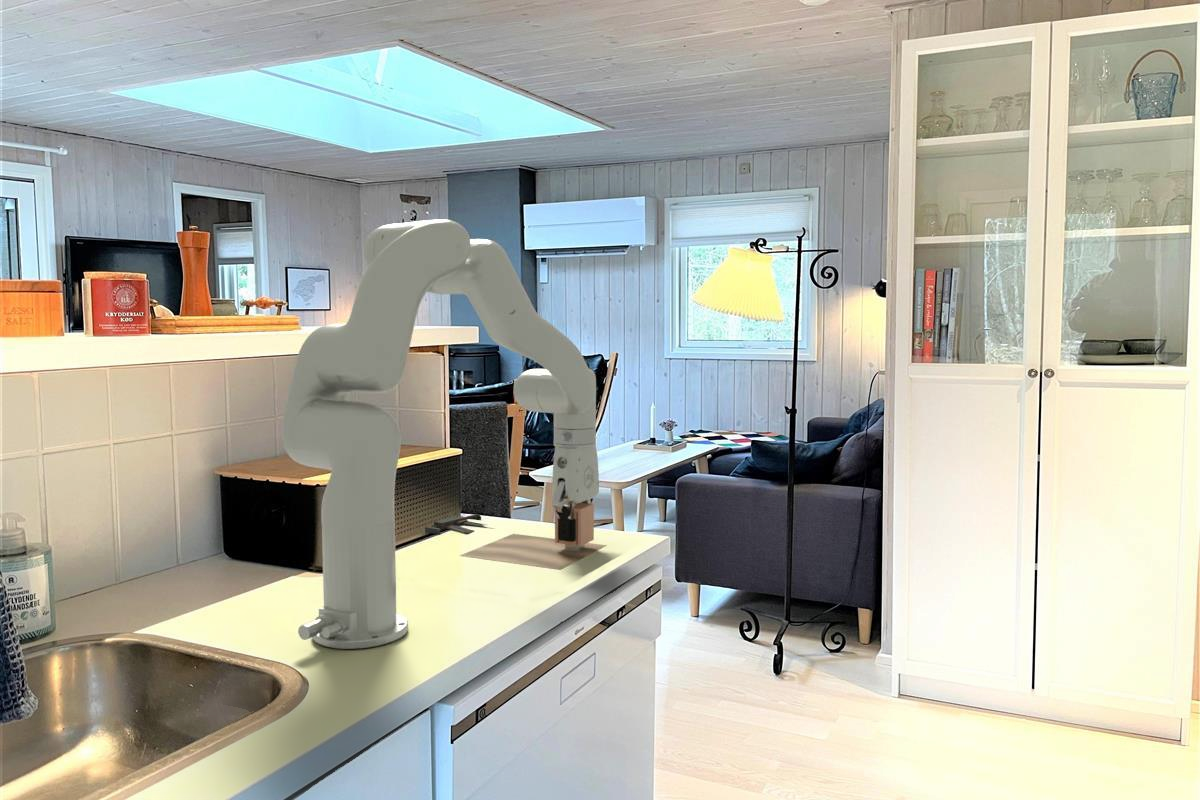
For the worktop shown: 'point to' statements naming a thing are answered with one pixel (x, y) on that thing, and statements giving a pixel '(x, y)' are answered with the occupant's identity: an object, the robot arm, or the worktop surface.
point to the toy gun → (455, 521)
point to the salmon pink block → (580, 524)
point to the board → (532, 551)
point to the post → (573, 547)
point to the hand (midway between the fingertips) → (574, 536)
